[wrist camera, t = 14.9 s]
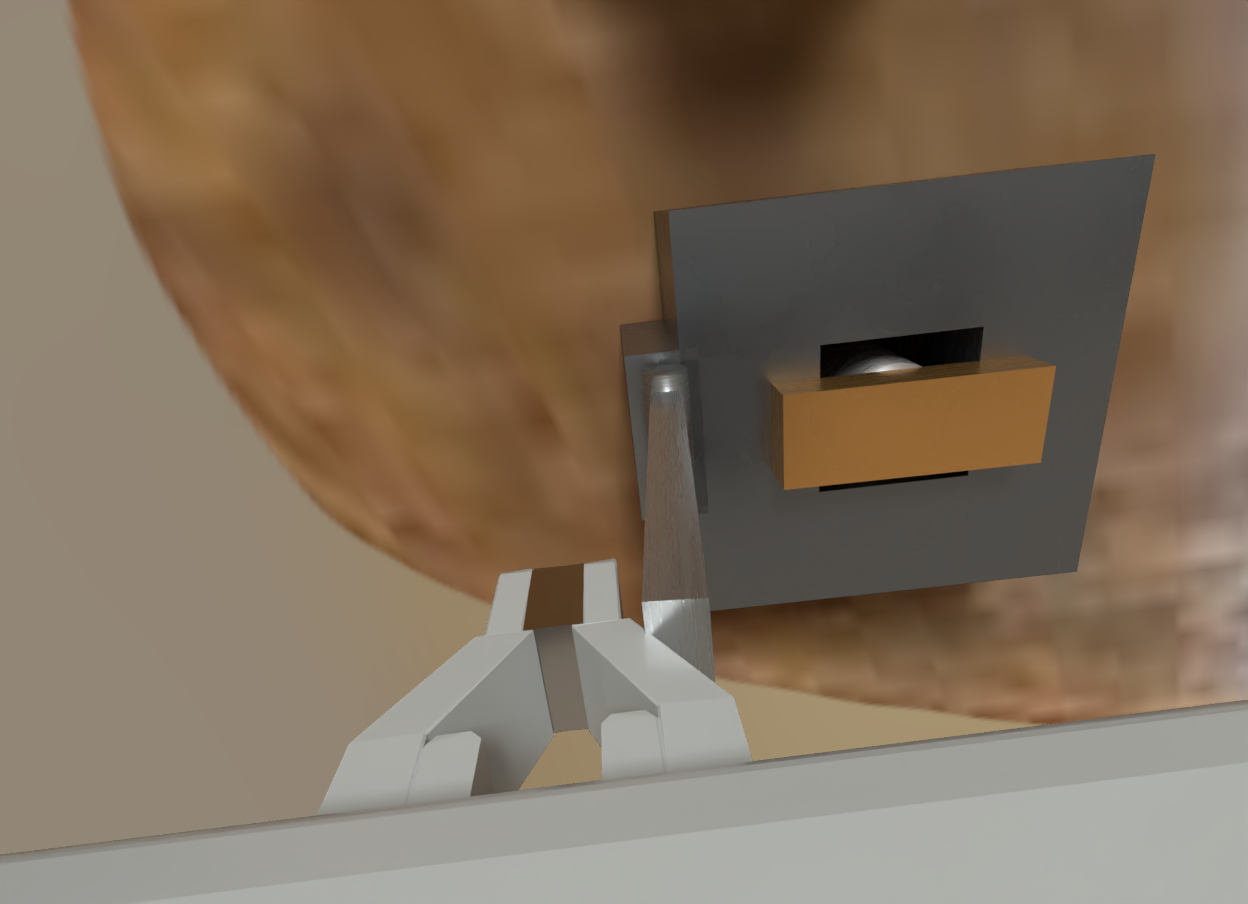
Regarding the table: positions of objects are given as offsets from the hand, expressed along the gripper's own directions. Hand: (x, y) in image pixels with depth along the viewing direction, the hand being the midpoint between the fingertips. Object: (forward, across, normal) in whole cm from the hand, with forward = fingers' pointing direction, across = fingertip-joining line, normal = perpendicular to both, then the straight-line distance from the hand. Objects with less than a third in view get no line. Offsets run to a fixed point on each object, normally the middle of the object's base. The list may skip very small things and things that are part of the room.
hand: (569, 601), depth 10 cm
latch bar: (+7, -2, 0) cm, 8 cm away
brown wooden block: (+12, -9, 0) cm, 15 cm away
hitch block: (+13, -9, 0) cm, 16 cm away
